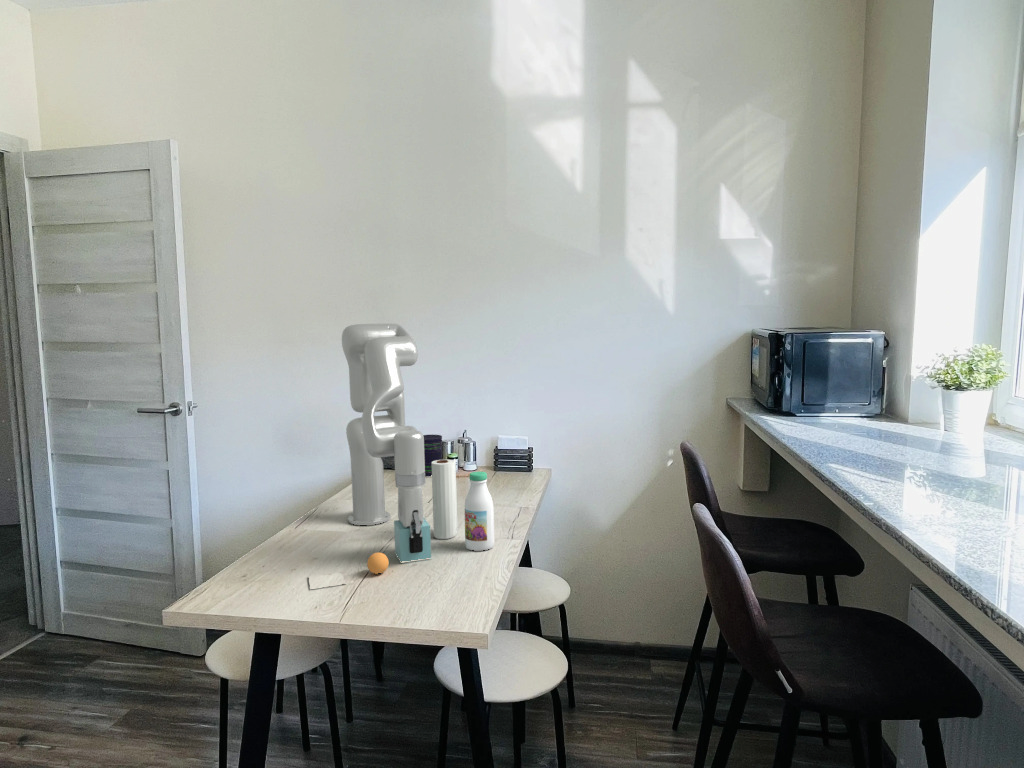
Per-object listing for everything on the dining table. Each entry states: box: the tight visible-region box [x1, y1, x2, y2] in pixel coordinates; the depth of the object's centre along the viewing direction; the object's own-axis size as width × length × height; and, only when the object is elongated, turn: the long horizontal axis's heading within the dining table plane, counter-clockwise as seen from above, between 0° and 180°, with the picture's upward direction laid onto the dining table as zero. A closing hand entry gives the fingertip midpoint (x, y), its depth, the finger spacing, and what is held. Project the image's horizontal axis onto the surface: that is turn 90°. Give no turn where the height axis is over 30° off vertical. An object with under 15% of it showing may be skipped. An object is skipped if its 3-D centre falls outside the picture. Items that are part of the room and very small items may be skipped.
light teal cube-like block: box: [393, 516, 432, 562], centre depth 166 cm, size 8×8×9 cm
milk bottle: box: [464, 471, 495, 552], centre depth 172 cm, size 8×8×20 cm
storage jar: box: [423, 434, 443, 476], centre depth 256 cm, size 10×10×15 cm
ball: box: [366, 551, 390, 575], centre depth 156 cm, size 5×5×5 cm
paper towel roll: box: [431, 458, 458, 540], centre depth 181 cm, size 7×6×21 cm
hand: (412, 546), depth 166 cm, fingers closed on light teal cube-like block, 7 cm apart
